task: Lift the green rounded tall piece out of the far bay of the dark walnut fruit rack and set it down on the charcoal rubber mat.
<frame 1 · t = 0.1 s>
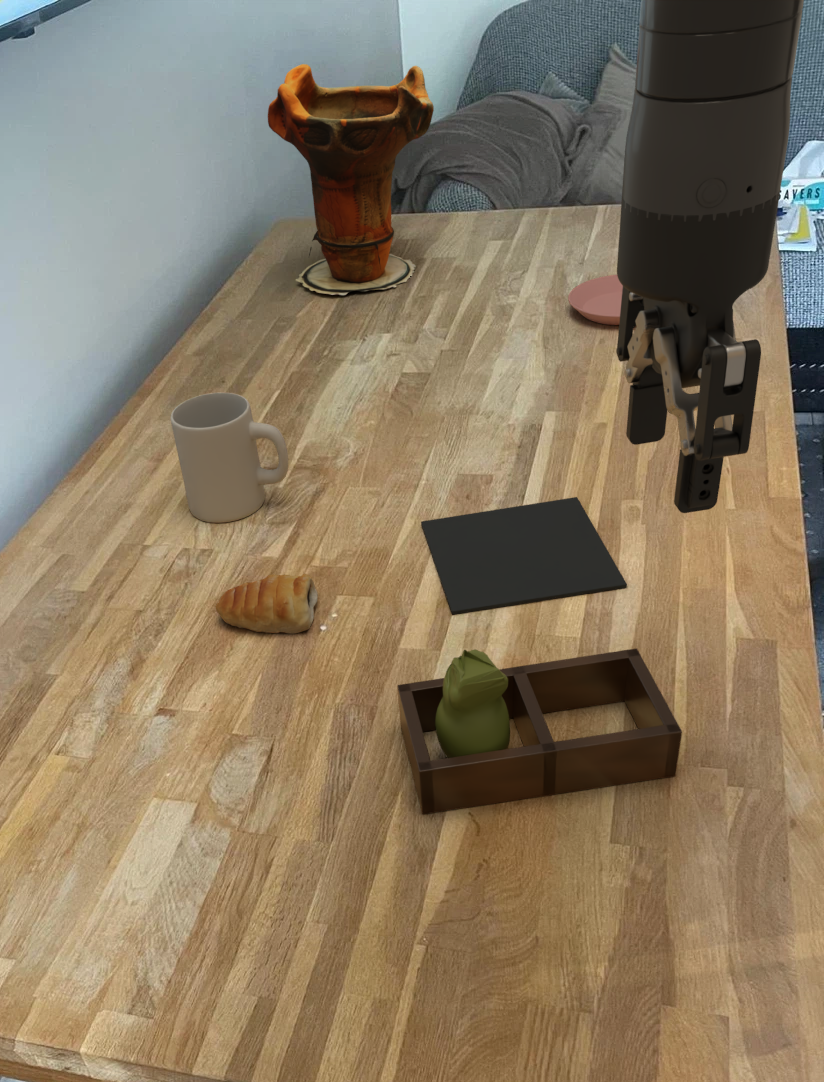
hand: (668, 472, 65), 25 cm above the table, tool pointing down, fingers open, 8 cm apart
green rounded tall piece: (474, 761, 85), resting in rack
decorative vase: (363, 276, 167), on the table
plate: (623, 310, 145), on the table
pastry: (275, 618, 103), on the table
rack: (531, 750, 85), on the table
mat: (517, 554, 105), on the table
mug: (242, 504, 120), on the table
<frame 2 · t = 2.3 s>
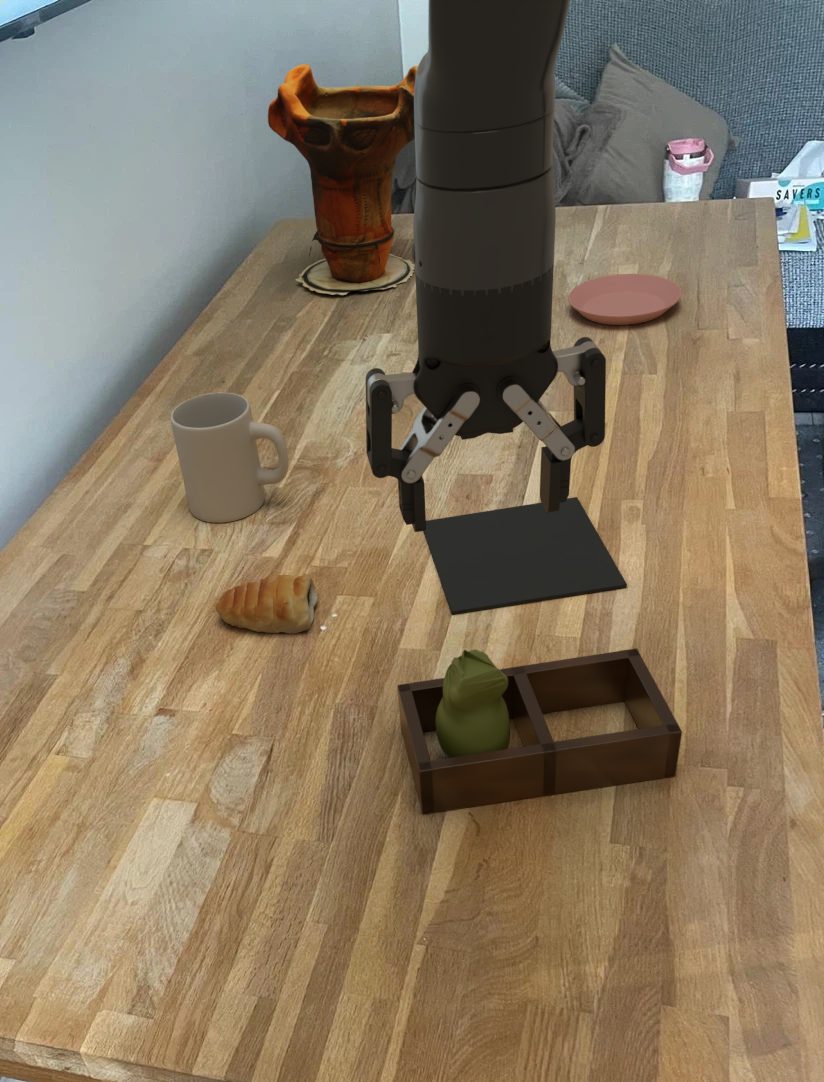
hand: (483, 515, 70), 22 cm above the table, tool pointing down, fingers open, 8 cm apart
nothing on the table moved.
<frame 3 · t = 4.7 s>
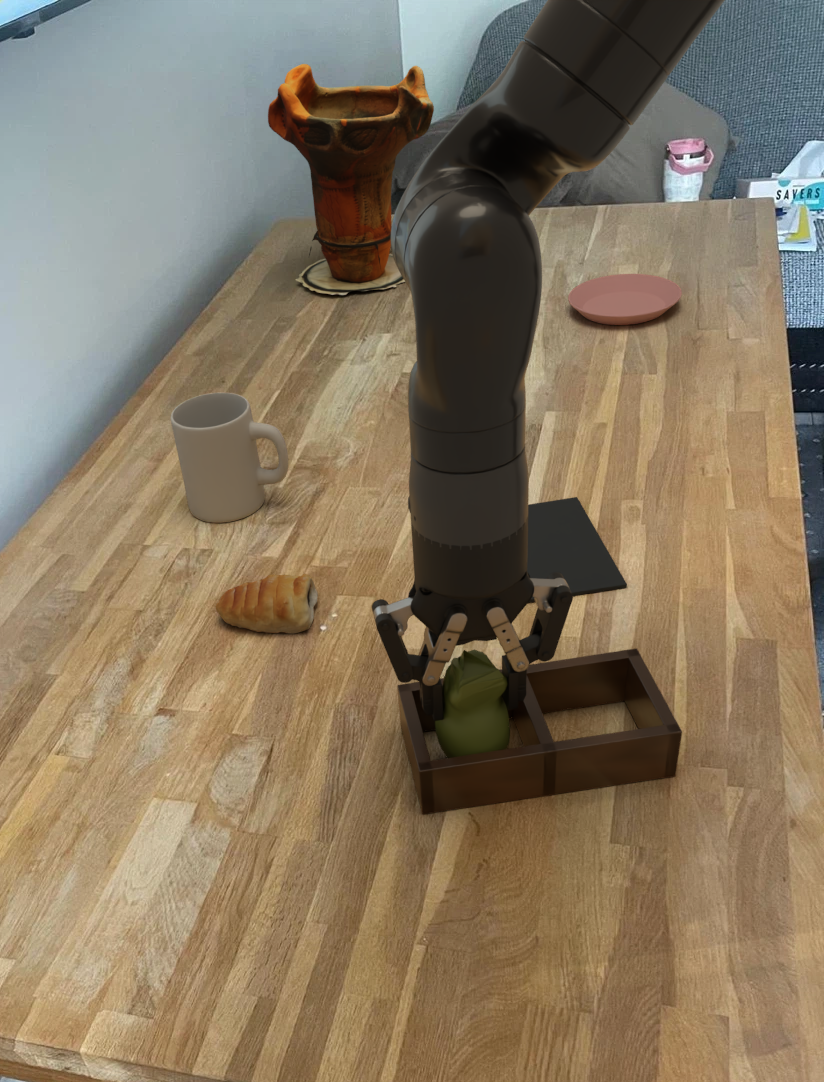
hand: (473, 707, 82), 5 cm above the table, tool pointing down, fingers closed on green rounded tall piece, 5 cm apart
green rounded tall piece: (474, 761, 85), resting in rack, touching gripper
everything else where it was.
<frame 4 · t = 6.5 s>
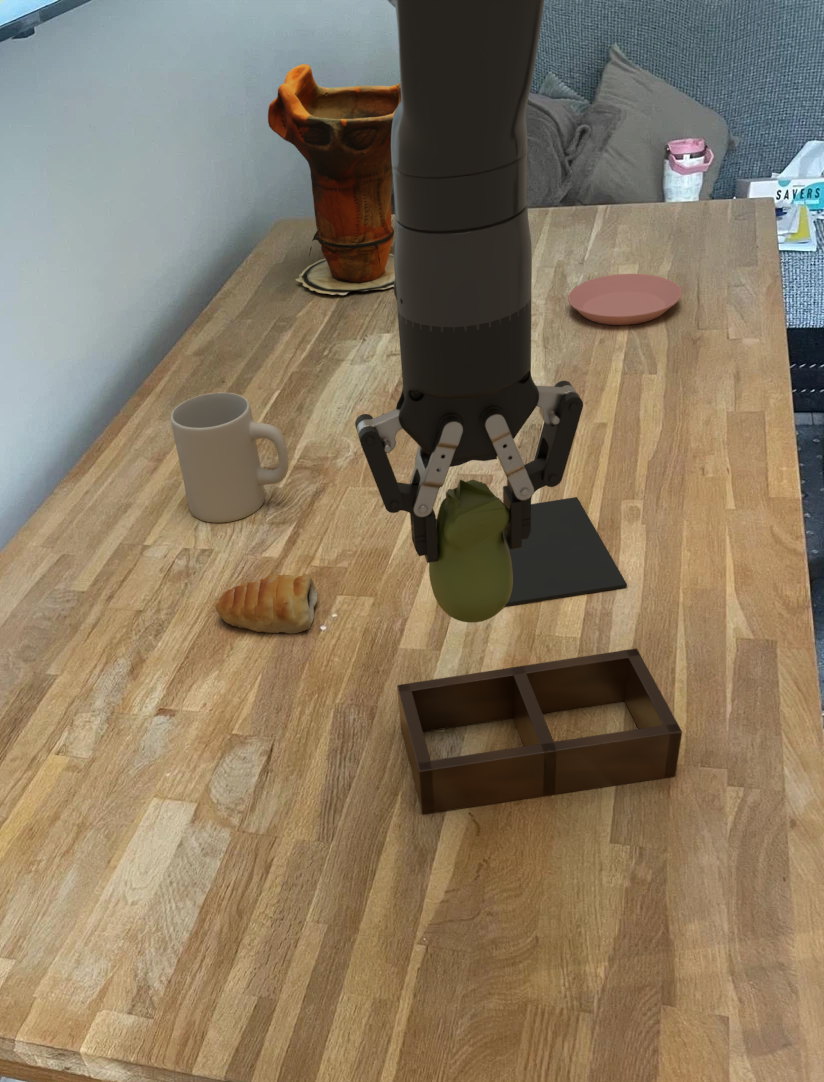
hand: (471, 548, 73), 19 cm above the table, tool pointing down, fingers closed on green rounded tall piece, 5 cm apart
green rounded tall piece: (473, 616, 76), point 14 cm above the table, touching gripper
everything else where it was.
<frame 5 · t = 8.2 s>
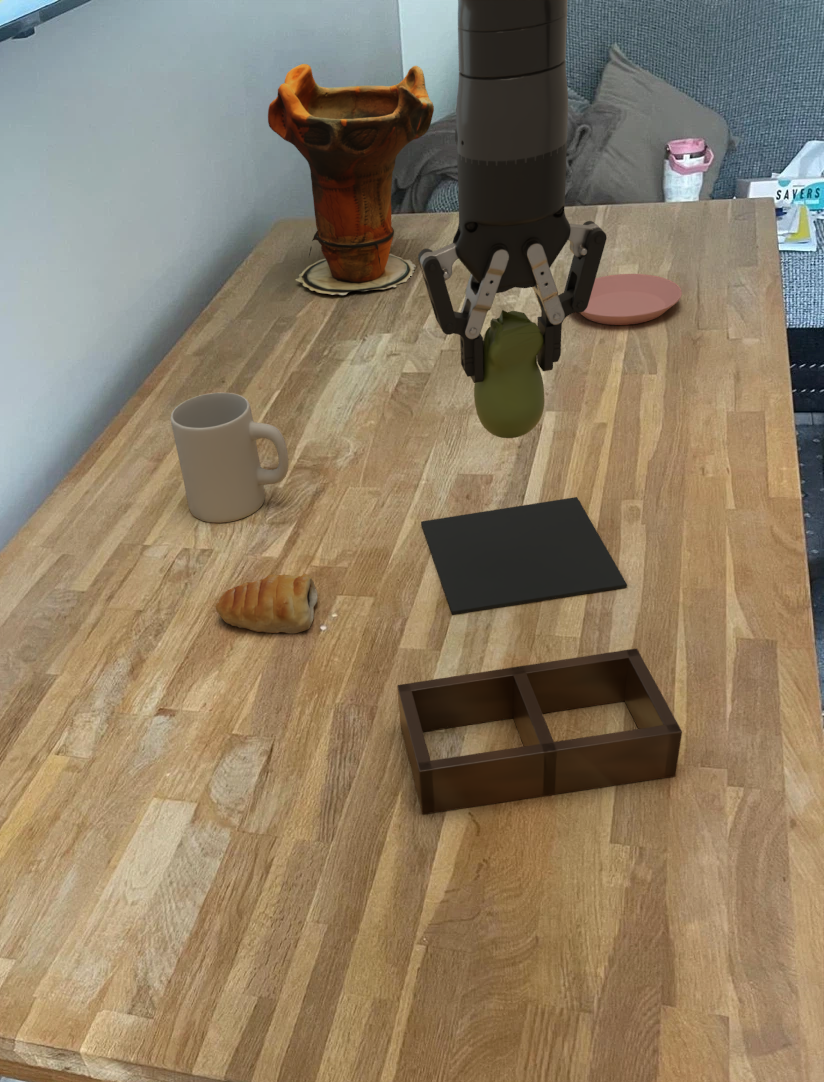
hand: (510, 371, 87), 21 cm above the table, tool pointing down, fingers closed on green rounded tall piece, 5 cm apart
green rounded tall piece: (510, 436, 91), point 16 cm above the table, touching gripper
everything else where it was.
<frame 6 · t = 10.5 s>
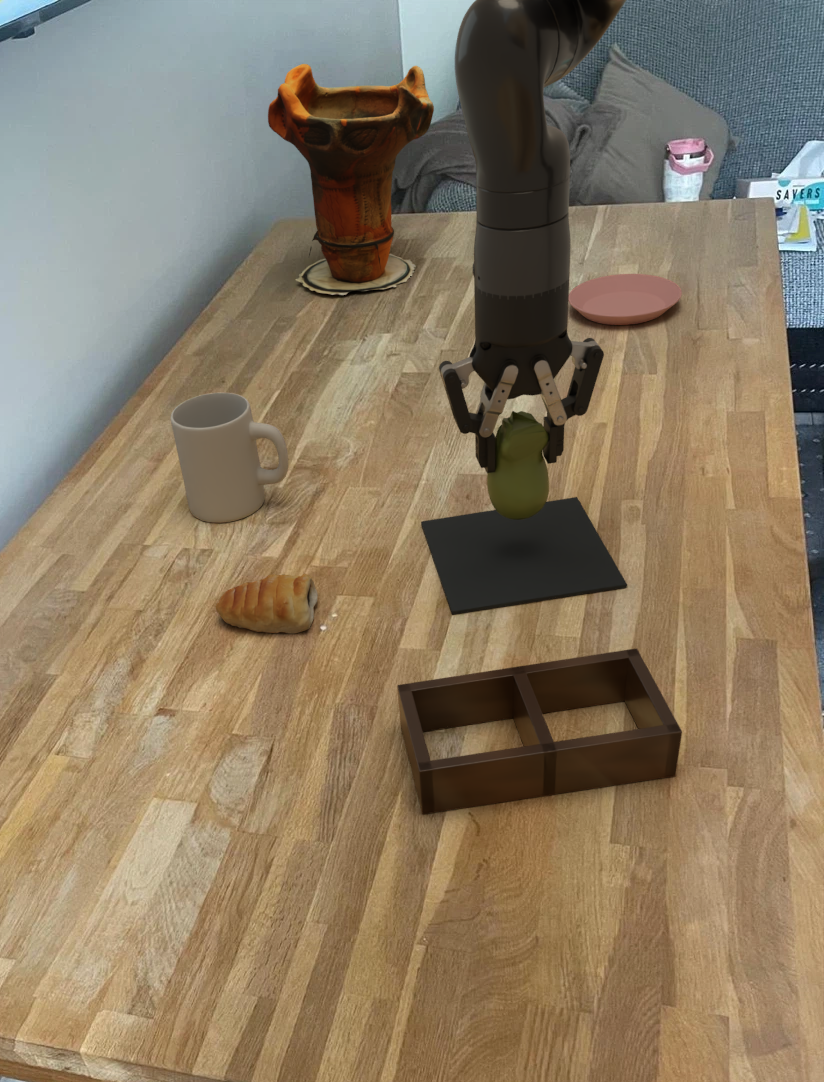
hand: (519, 463, 99), 10 cm above the table, tool pointing down, fingers closed on green rounded tall piece, 5 cm apart
green rounded tall piece: (518, 516, 102), point 4 cm above the table, touching gripper
everything else where it was.
when the fingers open (6 cm above the table, at t = 12.1 s): green rounded tall piece stays where it is, resting on mat.
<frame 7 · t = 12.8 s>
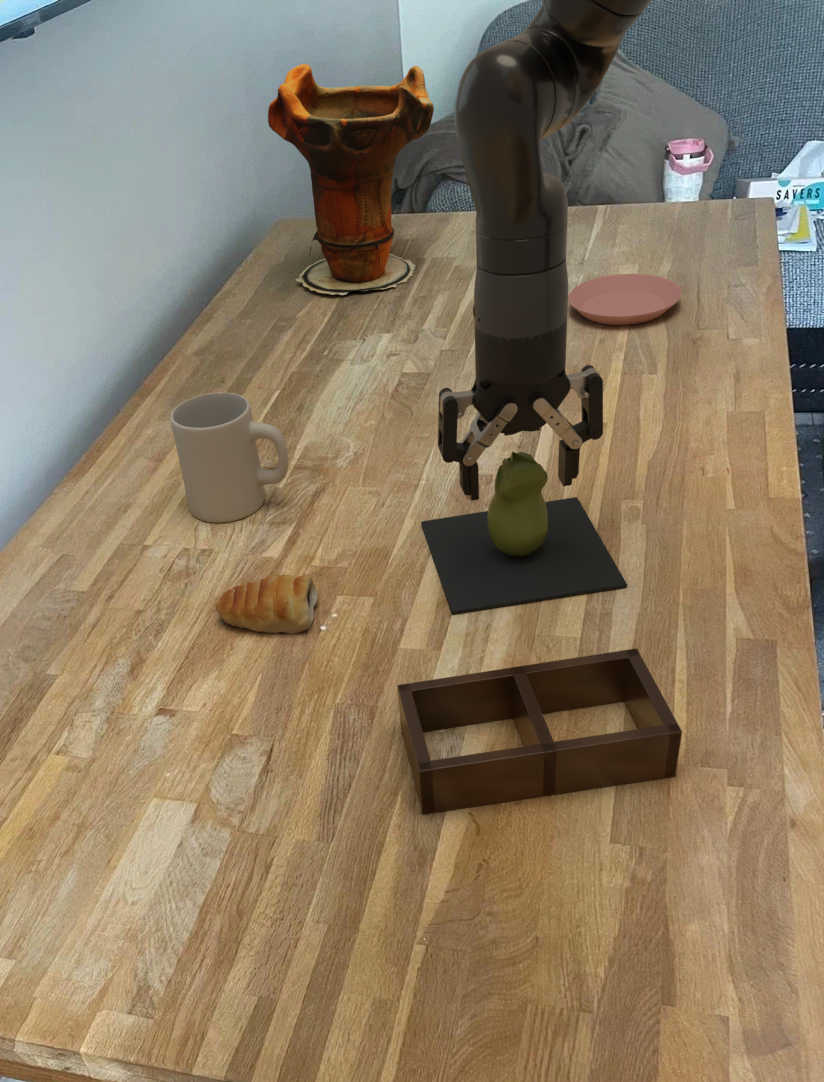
hand: (519, 489, 101), 7 cm above the table, tool pointing down, fingers open, 8 cm apart
green rounded tall piece: (518, 552, 105), resting on mat
everything else where it was.
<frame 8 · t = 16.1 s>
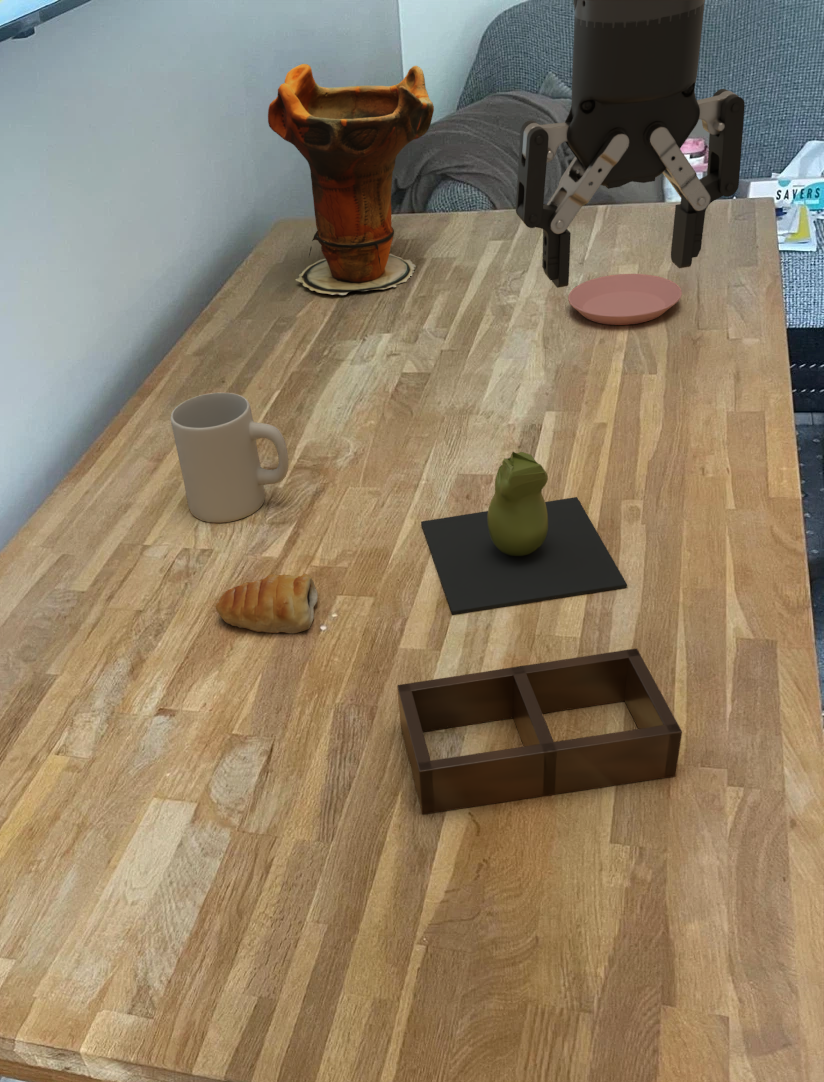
hand: (620, 273, 76), 30 cm above the table, tool pointing down, fingers open, 8 cm apart
nothing on the table moved.
at the end: green rounded tall piece inside the target area on the mat (0.1 cm from its centre), point 0.2 cm above the mat's base; green rounded tall piece touching mat; the gripper is holding nothing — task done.
